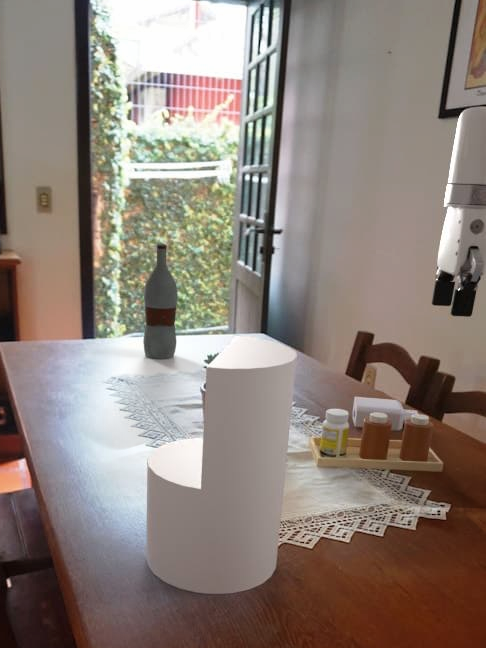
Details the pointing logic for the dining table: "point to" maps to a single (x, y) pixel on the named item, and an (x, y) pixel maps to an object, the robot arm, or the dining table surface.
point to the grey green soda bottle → (160, 310)
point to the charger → (380, 411)
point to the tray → (356, 462)
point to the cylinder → (225, 476)
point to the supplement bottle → (335, 434)
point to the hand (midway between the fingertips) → (450, 310)
